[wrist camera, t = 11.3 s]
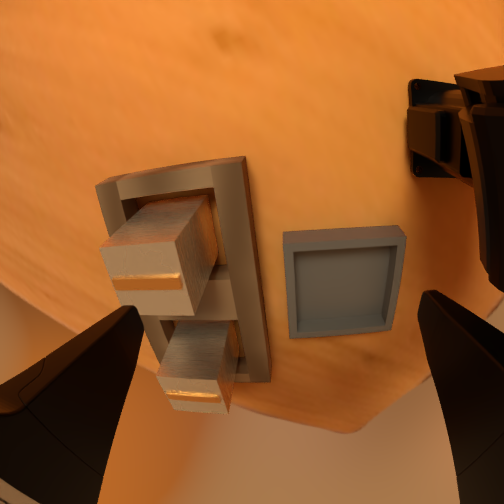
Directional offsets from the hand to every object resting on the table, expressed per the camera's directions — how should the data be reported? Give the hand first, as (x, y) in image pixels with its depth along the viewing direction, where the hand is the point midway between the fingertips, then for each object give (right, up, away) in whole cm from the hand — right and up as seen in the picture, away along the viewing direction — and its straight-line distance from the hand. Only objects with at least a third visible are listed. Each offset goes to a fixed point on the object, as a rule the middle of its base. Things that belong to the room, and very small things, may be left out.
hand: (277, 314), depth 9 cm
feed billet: (-4, -5, +17) cm, 18 cm away
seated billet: (-6, +4, +12) cm, 14 cm away
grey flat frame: (-5, -1, +15) cm, 16 cm away
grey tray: (+6, 0, +13) cm, 14 cm away
